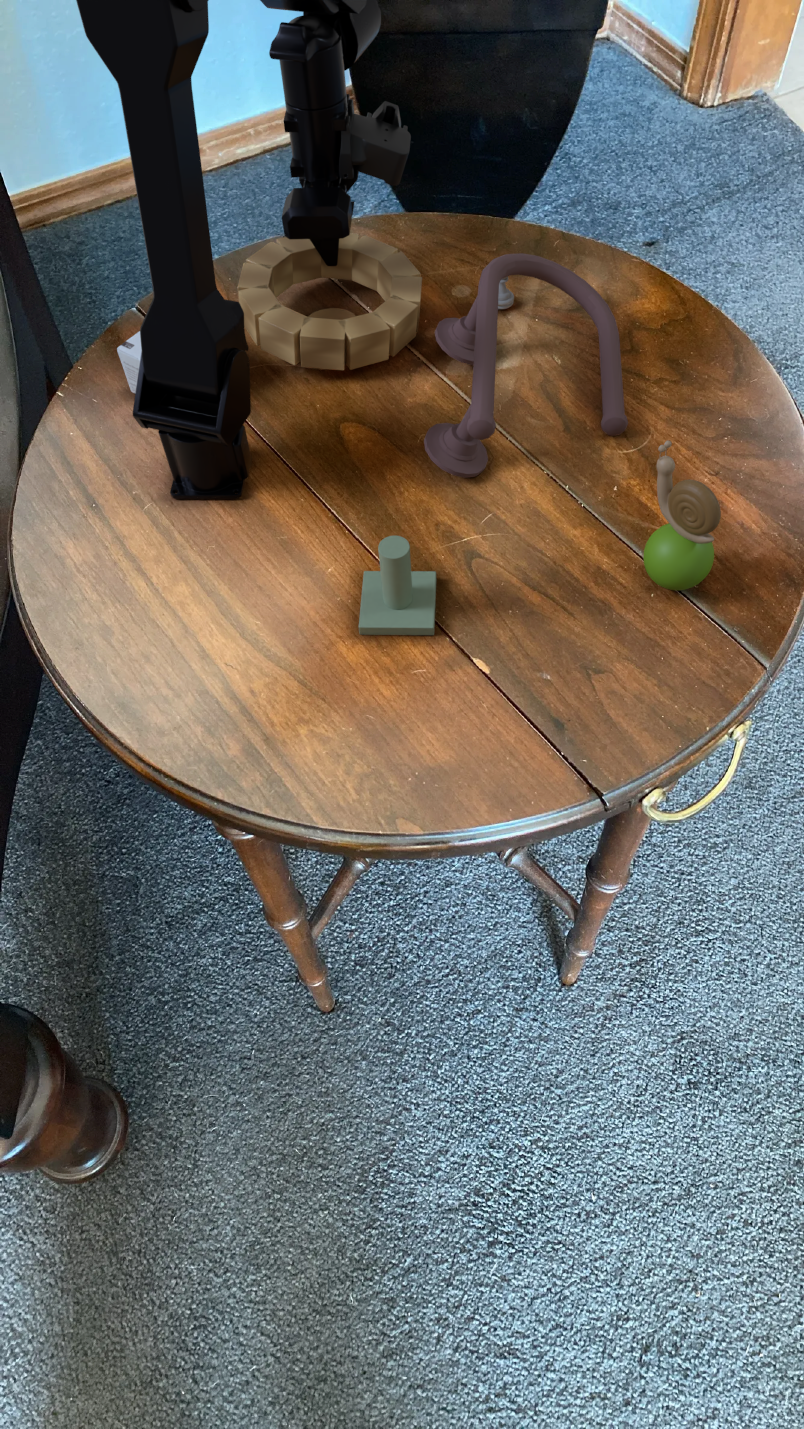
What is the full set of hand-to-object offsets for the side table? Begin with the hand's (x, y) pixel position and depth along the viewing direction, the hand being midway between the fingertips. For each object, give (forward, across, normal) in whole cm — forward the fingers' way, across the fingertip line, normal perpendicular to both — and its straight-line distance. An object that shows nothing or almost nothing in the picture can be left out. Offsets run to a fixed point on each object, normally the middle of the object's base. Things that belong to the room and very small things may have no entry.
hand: (333, 256), depth 102 cm
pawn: (+4, -15, -32) cm, 35 cm away
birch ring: (+2, -8, 0) cm, 8 cm away
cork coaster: (+3, -8, 0) cm, 8 cm away
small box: (+4, -16, +14) cm, 22 cm away
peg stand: (+3, -45, -9) cm, 46 cm away
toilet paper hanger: (+4, -17, -20) cm, 27 cm away
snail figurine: (+4, -41, -31) cm, 52 cm away
